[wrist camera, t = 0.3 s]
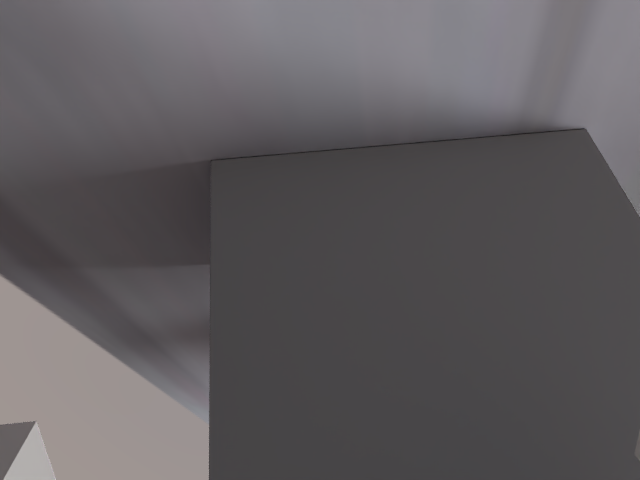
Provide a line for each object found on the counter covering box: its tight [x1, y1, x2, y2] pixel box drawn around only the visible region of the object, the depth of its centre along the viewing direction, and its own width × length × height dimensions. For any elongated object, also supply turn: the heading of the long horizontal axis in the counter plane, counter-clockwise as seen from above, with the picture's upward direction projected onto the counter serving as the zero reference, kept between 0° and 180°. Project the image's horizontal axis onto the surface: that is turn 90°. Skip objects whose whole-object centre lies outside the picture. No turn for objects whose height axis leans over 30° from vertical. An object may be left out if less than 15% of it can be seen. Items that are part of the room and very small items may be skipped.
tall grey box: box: [209, 129, 640, 480], centre depth 21 cm, size 10×20×20 cm, turn 90°
